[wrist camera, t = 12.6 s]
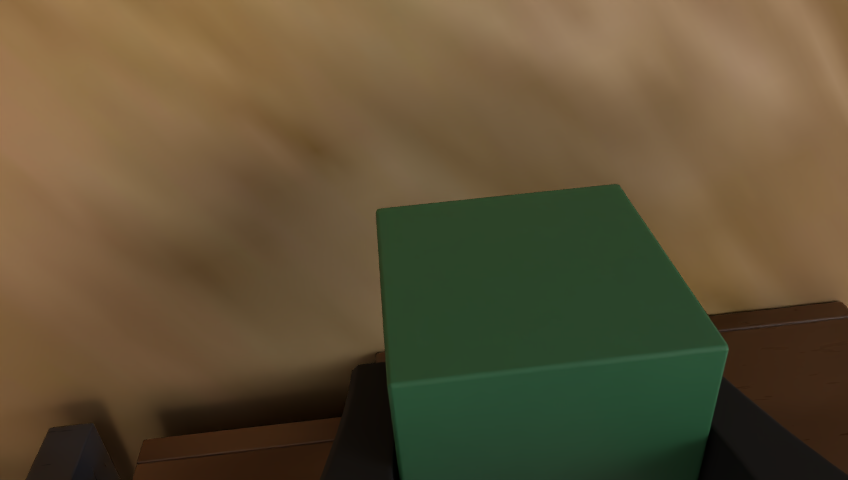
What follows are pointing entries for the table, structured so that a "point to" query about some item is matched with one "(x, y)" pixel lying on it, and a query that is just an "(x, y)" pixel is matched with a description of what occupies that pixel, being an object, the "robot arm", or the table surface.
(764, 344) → the cabinet
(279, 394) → the table surface
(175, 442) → the drawer
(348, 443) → the robot arm
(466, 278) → the snack box
